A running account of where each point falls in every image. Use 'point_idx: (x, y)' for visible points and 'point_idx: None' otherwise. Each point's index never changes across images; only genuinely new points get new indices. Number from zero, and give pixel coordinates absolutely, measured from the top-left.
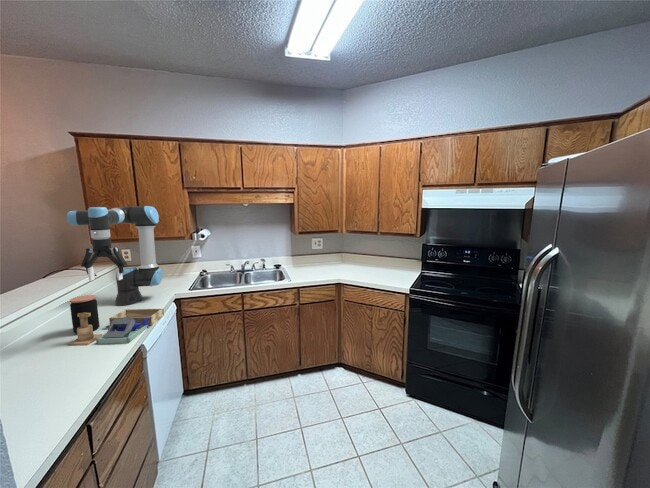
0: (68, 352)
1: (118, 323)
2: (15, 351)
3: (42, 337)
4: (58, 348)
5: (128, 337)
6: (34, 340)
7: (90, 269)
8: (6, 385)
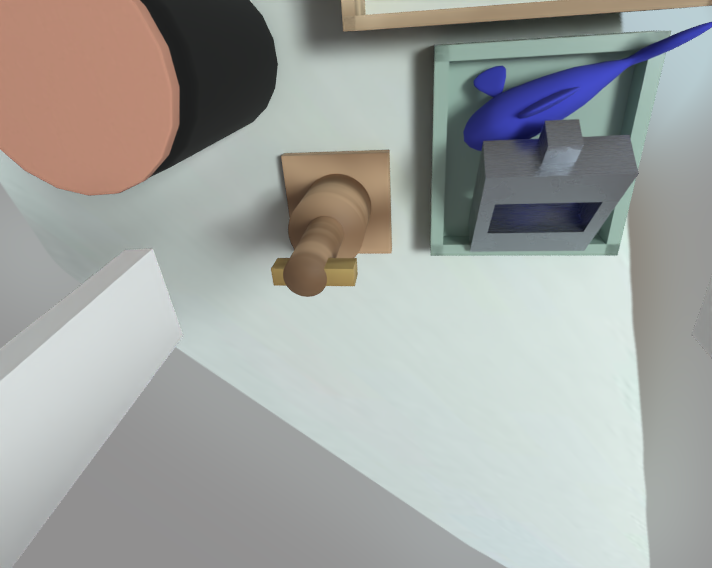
0: (359, 309)
1: (529, 200)
2: None
3: None
4: None
5: (611, 243)
6: None
7: (14, 503)
8: (352, 465)
